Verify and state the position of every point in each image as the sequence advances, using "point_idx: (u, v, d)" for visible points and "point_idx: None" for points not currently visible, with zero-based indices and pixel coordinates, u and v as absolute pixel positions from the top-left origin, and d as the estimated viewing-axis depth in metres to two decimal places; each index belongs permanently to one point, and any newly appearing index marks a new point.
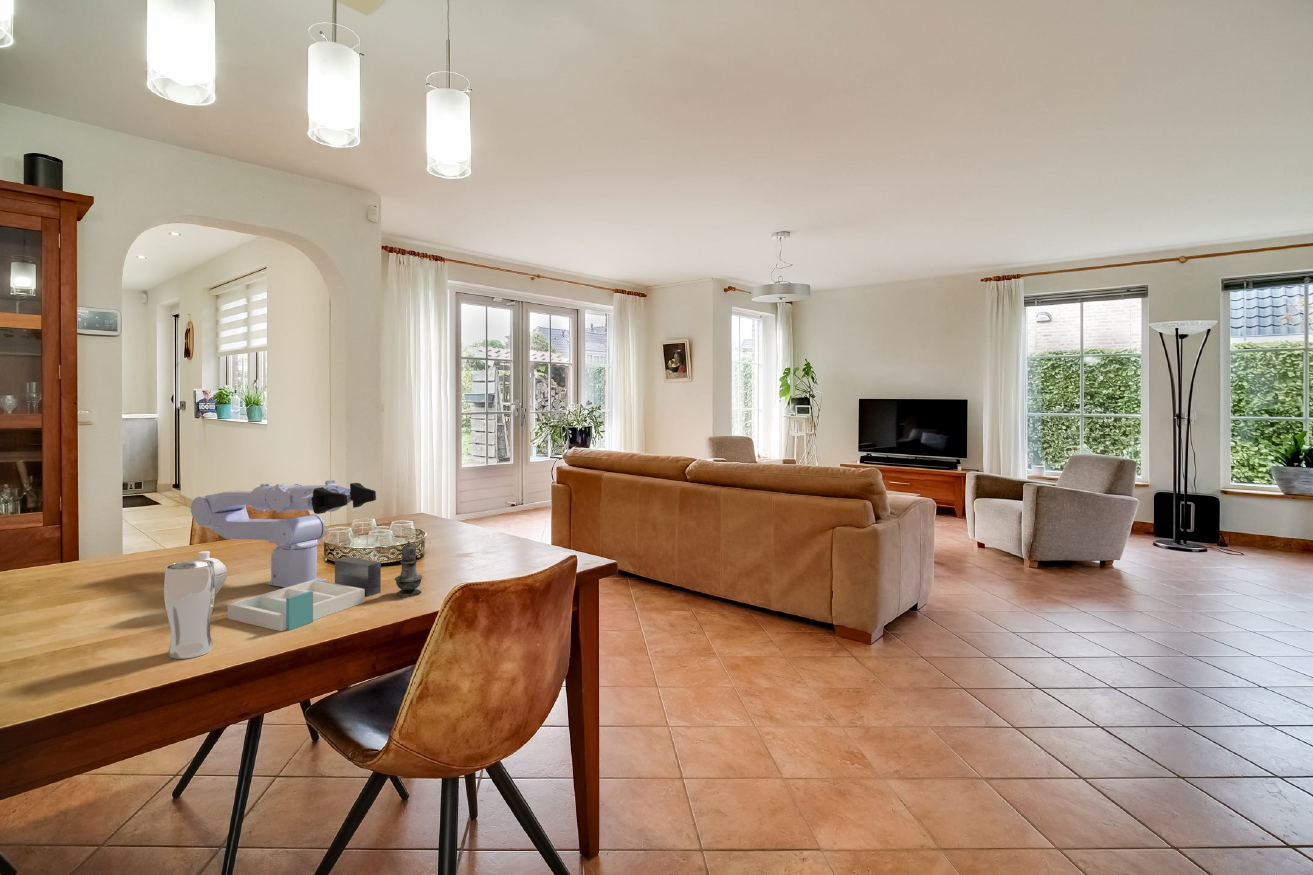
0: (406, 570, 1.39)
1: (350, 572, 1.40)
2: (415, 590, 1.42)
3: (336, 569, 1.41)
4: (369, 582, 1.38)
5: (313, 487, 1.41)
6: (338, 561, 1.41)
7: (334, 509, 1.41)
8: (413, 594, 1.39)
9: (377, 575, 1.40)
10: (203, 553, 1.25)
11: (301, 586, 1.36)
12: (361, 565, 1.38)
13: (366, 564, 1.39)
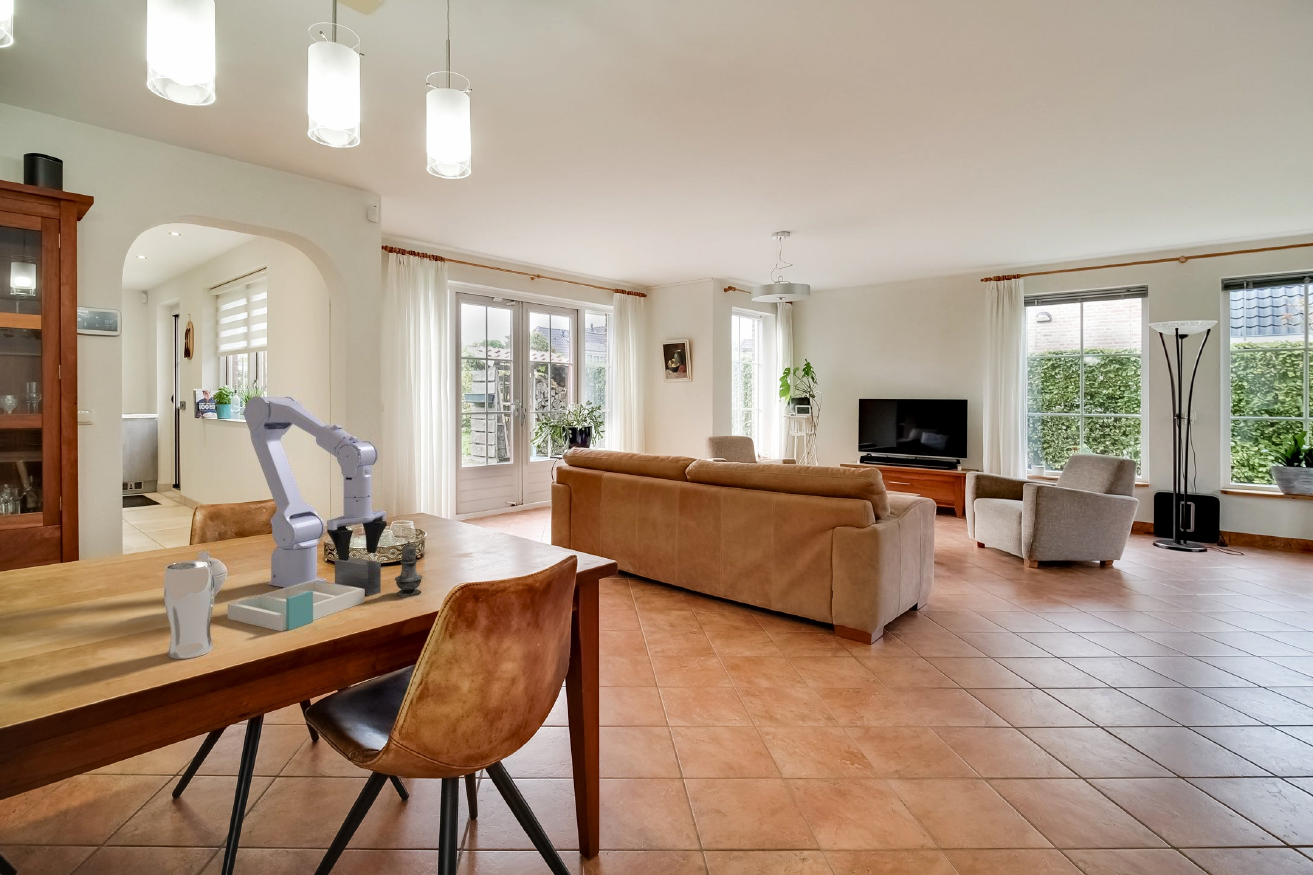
0: (406, 570, 1.39)
1: (350, 572, 1.40)
2: (415, 590, 1.42)
3: (336, 569, 1.41)
4: (369, 582, 1.38)
5: (360, 502, 1.38)
6: (338, 561, 1.41)
7: None
8: (413, 594, 1.39)
9: (377, 575, 1.40)
10: (203, 553, 1.25)
11: (301, 586, 1.36)
12: (361, 565, 1.38)
13: (366, 564, 1.39)
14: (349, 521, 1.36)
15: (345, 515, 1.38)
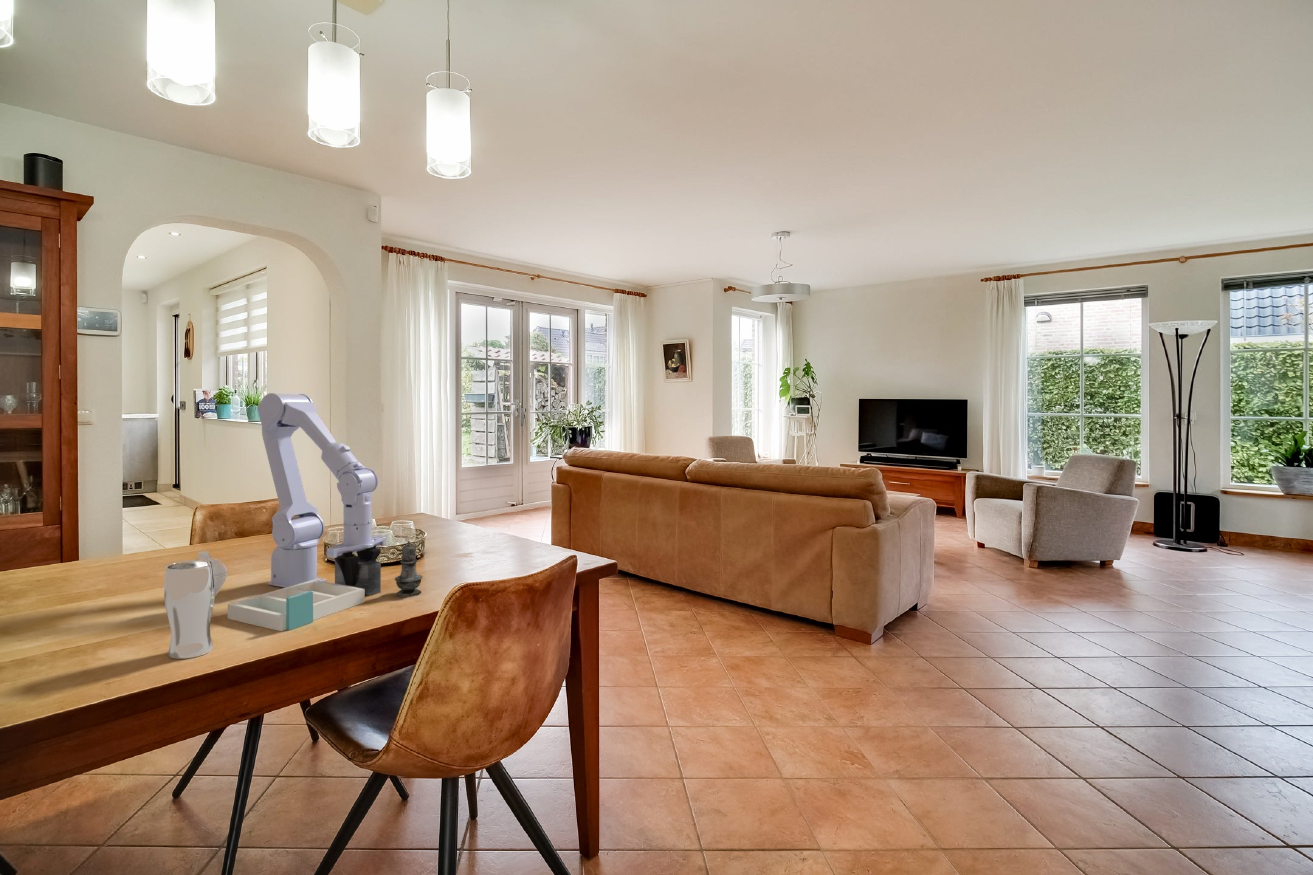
0: (406, 570, 1.39)
1: None
2: (415, 590, 1.42)
3: (336, 569, 1.41)
4: (369, 582, 1.38)
5: (360, 529, 1.38)
6: None
7: None
8: (413, 594, 1.39)
9: (377, 575, 1.40)
10: (203, 553, 1.25)
11: (301, 586, 1.36)
12: (361, 565, 1.38)
13: (366, 564, 1.39)
14: (349, 549, 1.37)
15: (345, 542, 1.39)
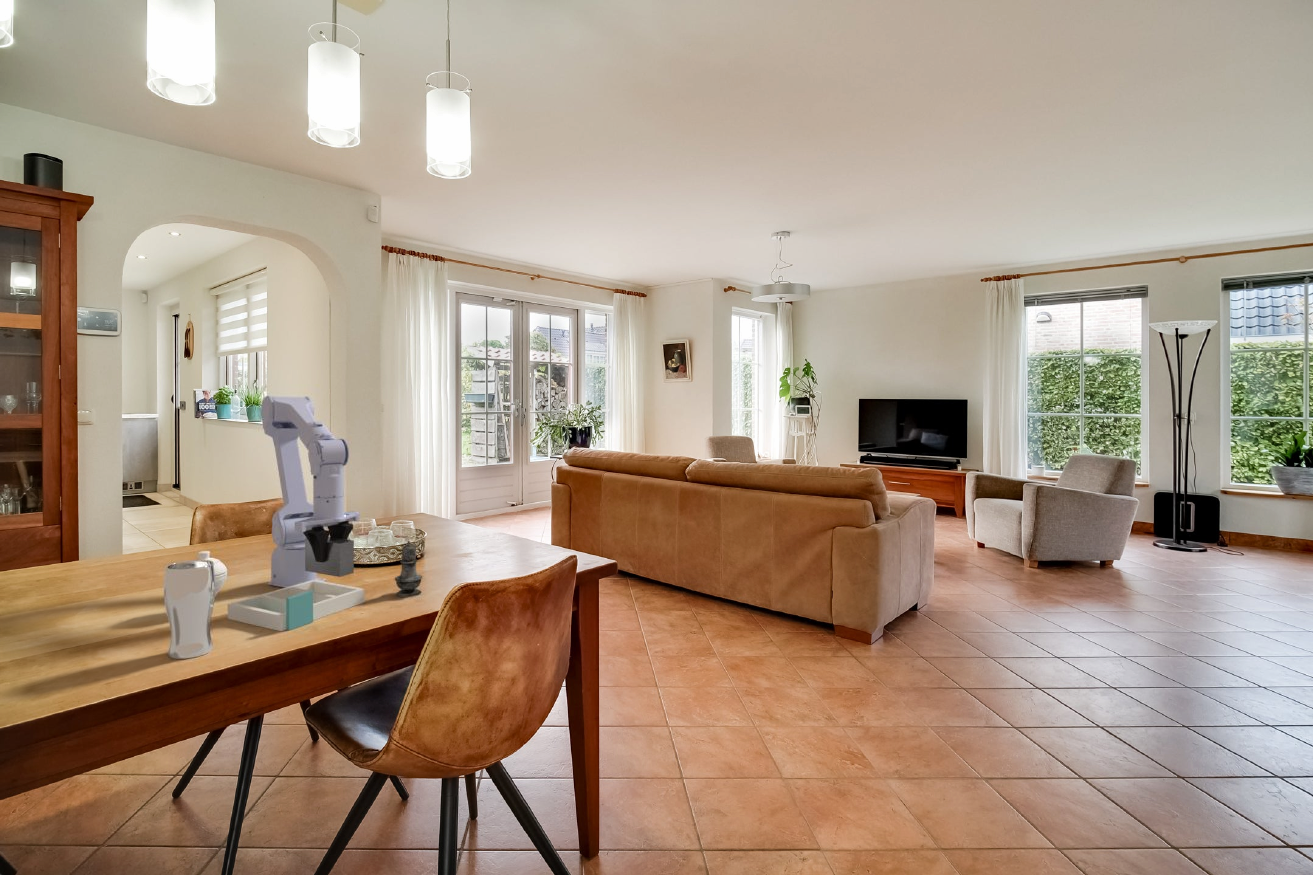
0: (406, 570, 1.39)
1: None
2: (415, 590, 1.42)
3: (306, 548, 1.34)
4: (341, 561, 1.31)
5: (331, 502, 1.31)
6: None
7: None
8: (413, 594, 1.39)
9: (350, 554, 1.33)
10: (203, 553, 1.25)
11: (301, 586, 1.36)
12: (332, 543, 1.31)
13: (338, 542, 1.31)
14: (319, 522, 1.29)
15: (315, 516, 1.31)
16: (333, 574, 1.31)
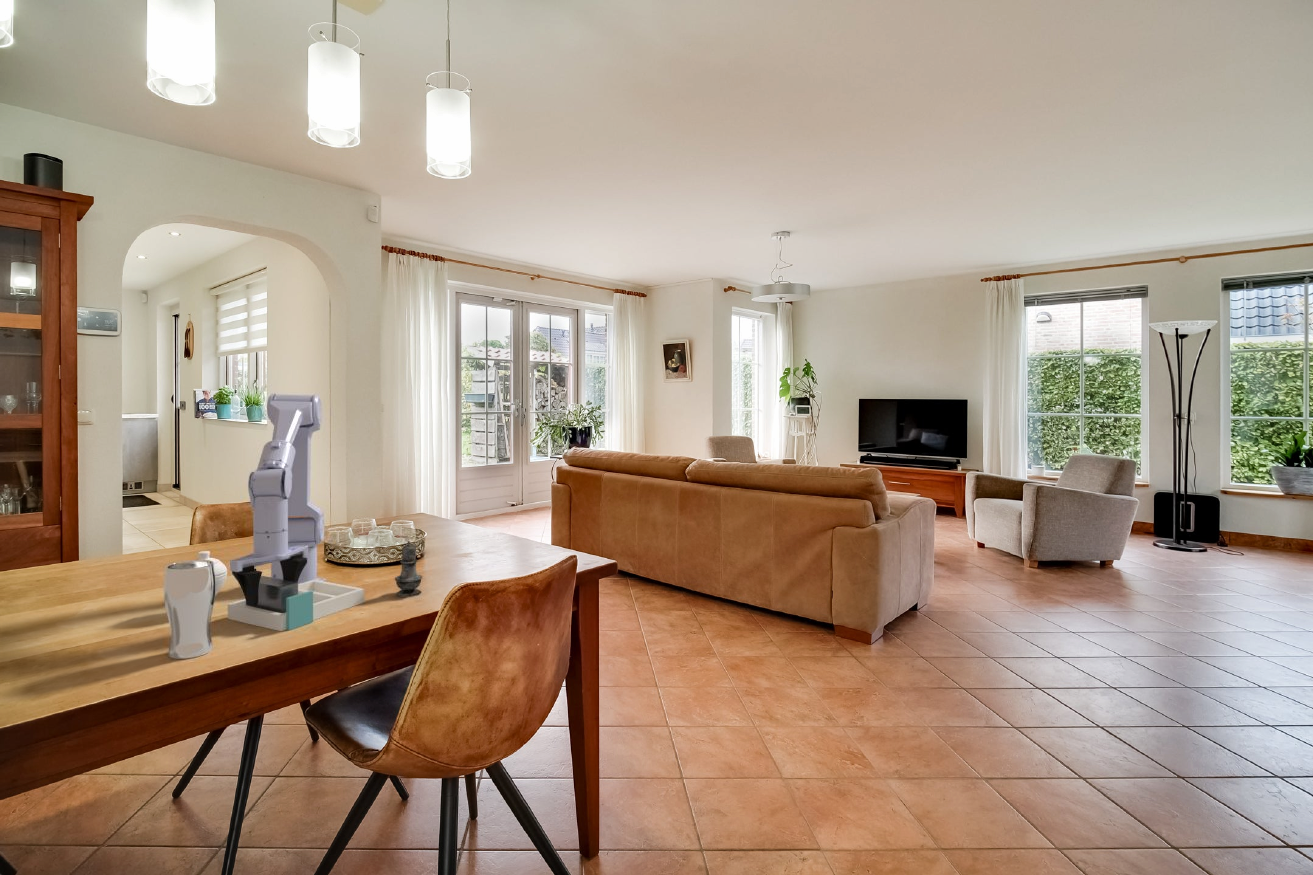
0: (406, 570, 1.39)
1: (262, 594, 1.21)
2: (415, 590, 1.42)
3: None
4: (283, 606, 1.19)
5: (272, 538, 1.19)
6: None
7: None
8: (413, 594, 1.39)
9: None
10: (203, 553, 1.25)
11: (301, 586, 1.36)
12: (274, 587, 1.19)
13: (279, 585, 1.20)
14: (258, 560, 1.18)
15: (254, 553, 1.20)
16: None
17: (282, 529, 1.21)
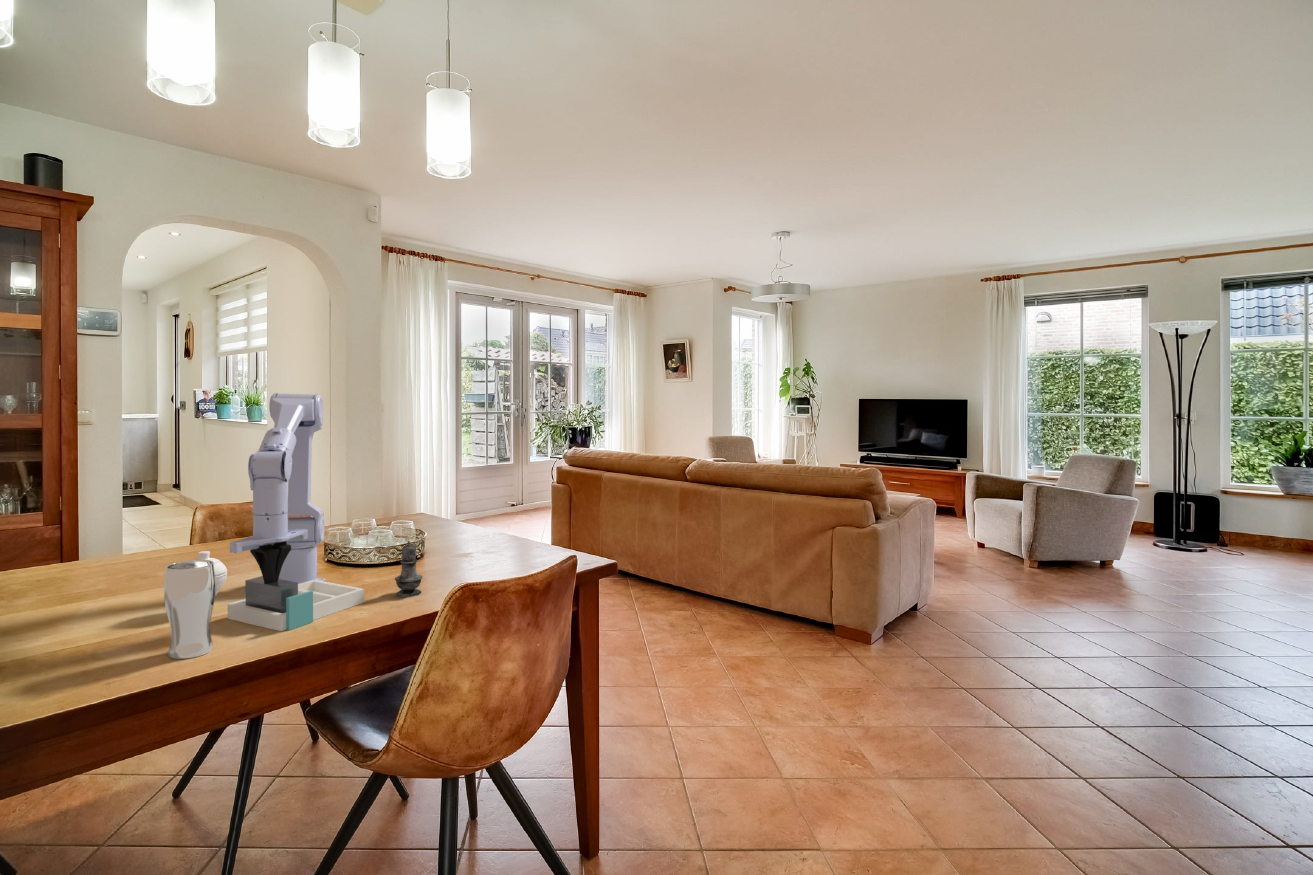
0: (406, 570, 1.39)
1: (262, 594, 1.21)
2: (415, 590, 1.42)
3: (247, 591, 1.22)
4: (283, 606, 1.19)
5: (272, 520, 1.19)
6: (249, 582, 1.22)
7: None
8: (413, 594, 1.39)
9: None
10: (203, 553, 1.25)
11: (301, 586, 1.36)
12: (273, 587, 1.19)
13: (279, 585, 1.19)
14: (257, 542, 1.17)
15: (254, 535, 1.19)
16: None
17: (282, 511, 1.21)
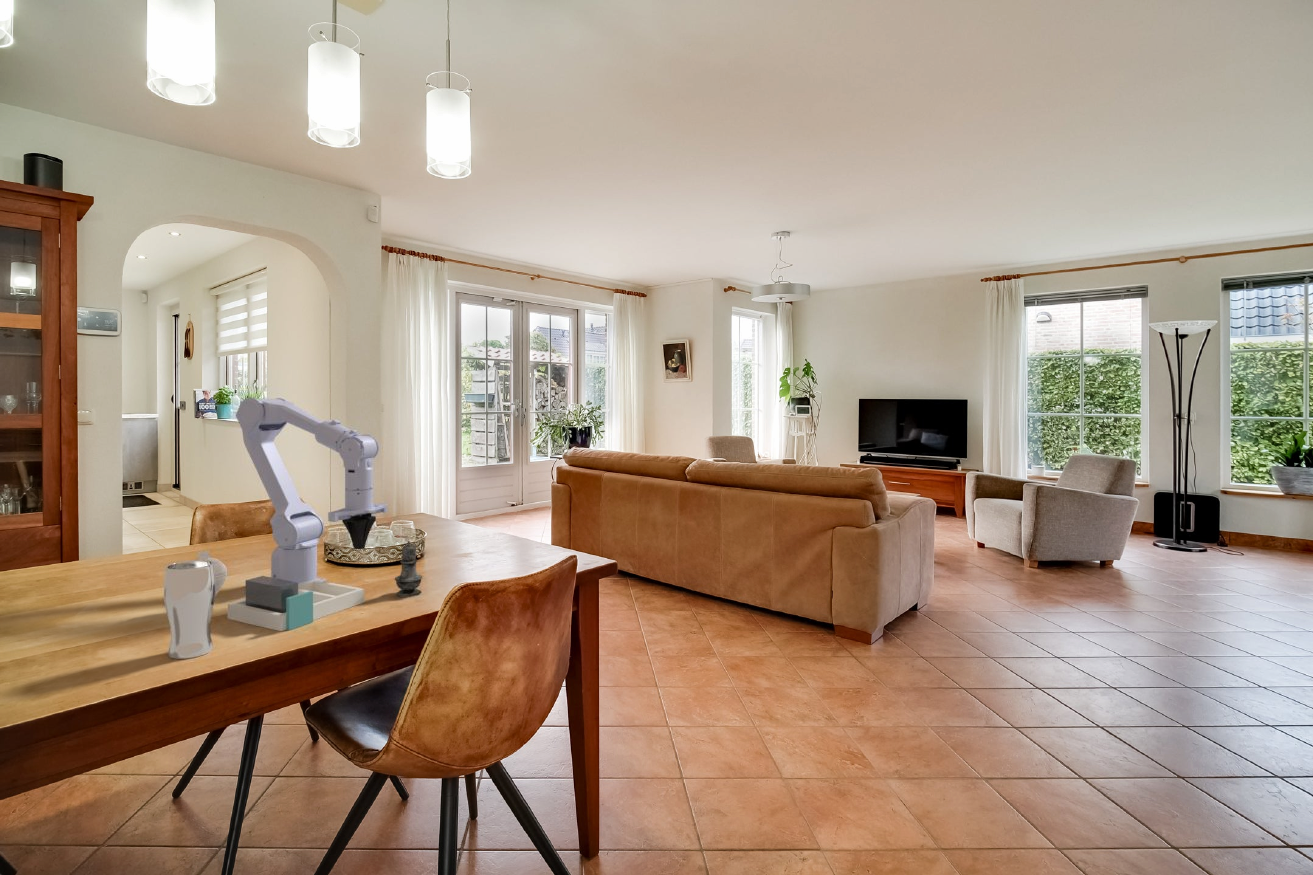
0: (406, 570, 1.39)
1: (262, 594, 1.21)
2: (415, 590, 1.42)
3: (247, 591, 1.22)
4: (283, 606, 1.19)
5: (362, 495, 1.40)
6: (249, 581, 1.22)
7: None
8: (413, 594, 1.39)
9: None
10: (203, 553, 1.25)
11: (301, 586, 1.36)
12: (274, 587, 1.19)
13: (279, 585, 1.20)
14: (350, 513, 1.38)
15: (346, 507, 1.40)
16: None
17: None
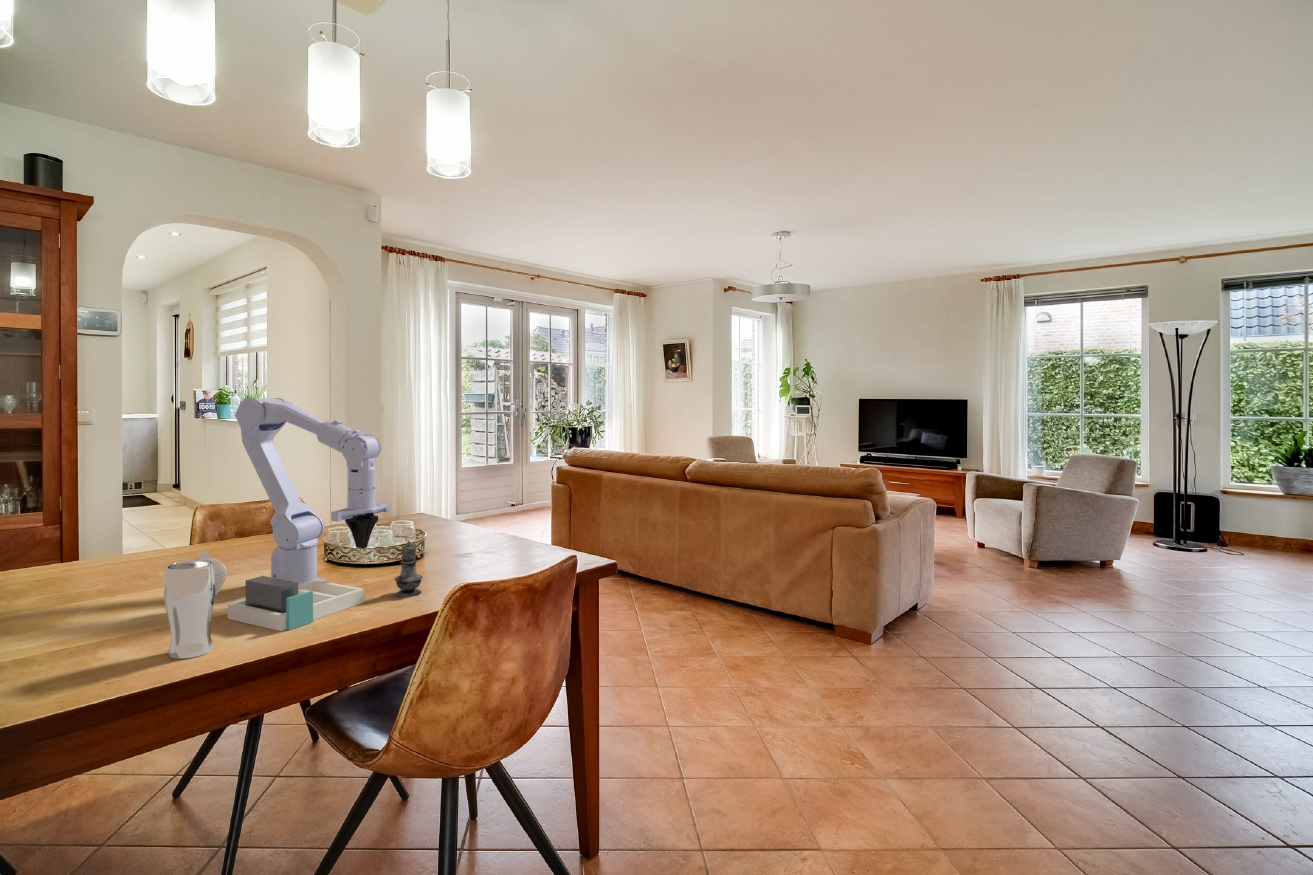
0: (406, 570, 1.39)
1: (262, 594, 1.21)
2: (415, 590, 1.42)
3: (247, 591, 1.22)
4: (283, 606, 1.19)
5: (364, 494, 1.40)
6: (249, 581, 1.22)
7: None
8: (413, 594, 1.39)
9: None
10: (203, 553, 1.25)
11: (301, 586, 1.36)
12: (274, 587, 1.19)
13: (279, 585, 1.20)
14: (353, 513, 1.38)
15: (349, 507, 1.40)
16: None
17: None
